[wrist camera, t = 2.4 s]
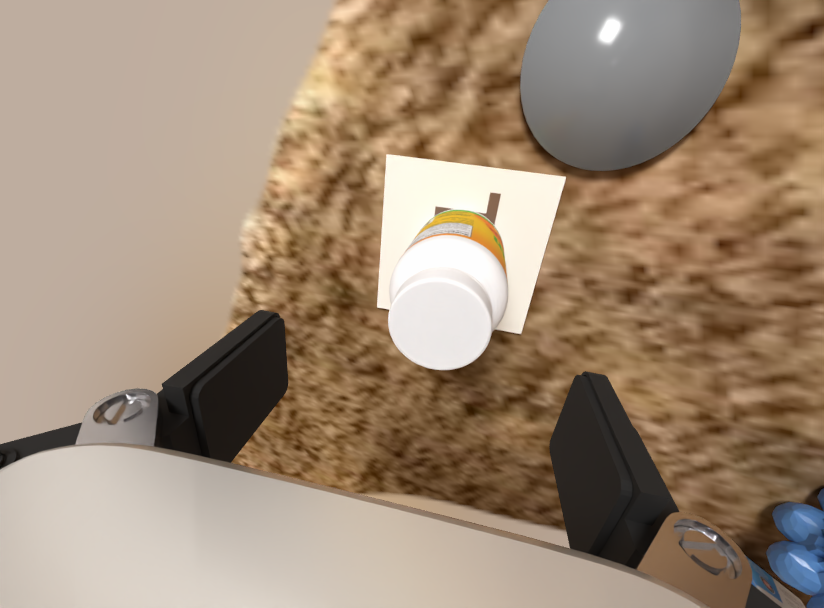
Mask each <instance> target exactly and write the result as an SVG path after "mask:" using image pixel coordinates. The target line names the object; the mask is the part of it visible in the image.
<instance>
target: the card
mask: <svg viewBox="0 0 824 608" xmlns="http://www.w3.org/2000/svg"><path fill="white" fill-rule="evenodd" d="M565 179H566V177H563V176H555V175H547V174H539V173H532V172H524V171H516V170H508V169H500V168H492V167H484V166H476V165H468V164H461V163H453V162H445V161H437V160H429V159H421V158H413V157H405V156H398V155H390V154H387V158H386V174H385V190H384V205H383V221H382V237H381V253H380V269H379V285H378V301H377V307H378V308H384V309H389V310H390V307H391V303H390V295H389V288H390V280H391V276H392V273H393V271H394V268H395V266H396V264H397V263H398V261H399V259H400V258H401V256H402V255H403V254H404V252H405V251H406V250H407V248H408V247H409V245H410V244H411V242H412V241H413V240H414V238H415V237H416V236H417V234H418V233H419V231H420V230H421V228H422V227H423V226H424V225H425V224H426V223H427V222H428V221H429V220H430V219H431V218H433V217H434V216H436V215H437V214H439V213H441V212H444V211H447V210H452V209H467V210H472V211H475V212H477V213H480V214H481V215H483V216H485V217H486V218H488V219H489V220H490V221H491V222H492V223H493V224H494V226H495V227H496V228H497V230H498V232H499V234H500V236H501V239H502V242H503V247H504V255H505V263H506V272H507V280H508V303H507V307H506V311H505V313H504V316H503V318H502V320H501V321H500V323H499V324H498V326H497V327H496V328H495V329H496V330H502V331H507V332H512V333H518V334H521V332H522V329H523V325H524V322H525V318H526V315H527V312H528V308H529V305H530V301H531V298H532V294H533V291H534V287H535V284H536V280H537V277H538V273H539V270H540V266H541V263H542V259H543V256H544V252H545V249H546V245H547V242H548V238H549V235H550V232H551V228H552V225H553V221H554V218H555V214H556V211H557V207H558V204H559V200H560V197H561V193H562V190H563V186H564V183H565Z"/></svg>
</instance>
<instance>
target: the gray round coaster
mask: <svg viewBox="0 0 824 608" xmlns="http://www.w3.org/2000/svg"><path fill="white" fill-rule="evenodd" d="M740 31H741V10H740V3H739V0H549V1H548V2H547V4H546V5H545V7H544V9H543V10H542V12H541V13H540V15H539V17H538V19H537V21H536V23H535V25H534V27H533V30H532V32H531V35H530V37H529V40H528V43H527V45H526V49H525V53H524V57H523V60H522V67H521V74H520V95H521V104H522V108H523V113H524V116H525V119H526V122H527V124H528V127H529V128H530V130H531V132H532V134H533V136H534V137H535V139H536V140H537V141H538V143H539V144H540V145H541V146H542V147H543V148H544V149H545V150H546V151H547V152H548V153H549V154H551V155H552V156H553V157H555V158H556V159H558V160H560V161H562V162H564V163H566V164H568V165H571V166H574V167H577V168H581V169H586V170H593V171H608V170H617V169H622V168H627V167H631V166H634V165H637V164H640V163H642V162H645V161H647V160H649V159H651V158H654V157H655V156H657V155H659V154H661V153H662V152H664V151H666V150H667V149H669V148H670V147H672V146H673V145H674V144H676V143H677V142H679V141H680V140H681V139H682V138H683V137H684V136H685V135H687V134H688V133H689V132H690V131H691V130H692V129H693V128H694V127H695V126H696V125H697V124H698V123H699V122H700V121H701V120H702V118H703V117H704V116H705V114H706V113H707V112H708V111H709V109H710V108H711V107H712V105H713V104H714V102H715V101H716V99H717V97H718V96H719V94H720V93H721V91H722V89H723V87H724V85H725V83H726V81H727V79H728V77H729V75H730V72H731V69H732V67H733V64H734V61H735V57H736V53H737V49H738V45H739V39H740Z"/></svg>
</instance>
